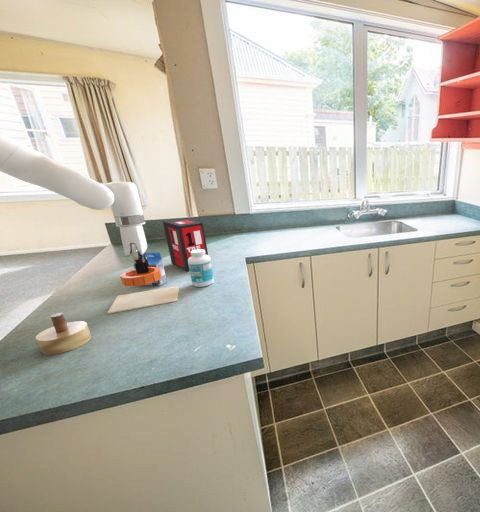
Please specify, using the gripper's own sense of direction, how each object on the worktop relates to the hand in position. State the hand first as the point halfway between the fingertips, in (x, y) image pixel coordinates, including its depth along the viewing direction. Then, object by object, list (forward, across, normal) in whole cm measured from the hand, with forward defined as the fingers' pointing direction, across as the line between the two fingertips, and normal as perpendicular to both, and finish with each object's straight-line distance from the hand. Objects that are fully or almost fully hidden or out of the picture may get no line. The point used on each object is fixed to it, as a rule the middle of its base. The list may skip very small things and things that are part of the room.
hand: (143, 271), depth 103 cm
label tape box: (+9, -10, 0) cm, 14 cm away
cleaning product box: (+9, -28, +12) cm, 32 cm away
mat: (+9, +5, 0) cm, 10 cm away
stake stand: (+9, +27, -14) cm, 31 cm away
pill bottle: (+9, -1, +17) cm, 19 cm away
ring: (+2, +4, 0) cm, 5 cm away
